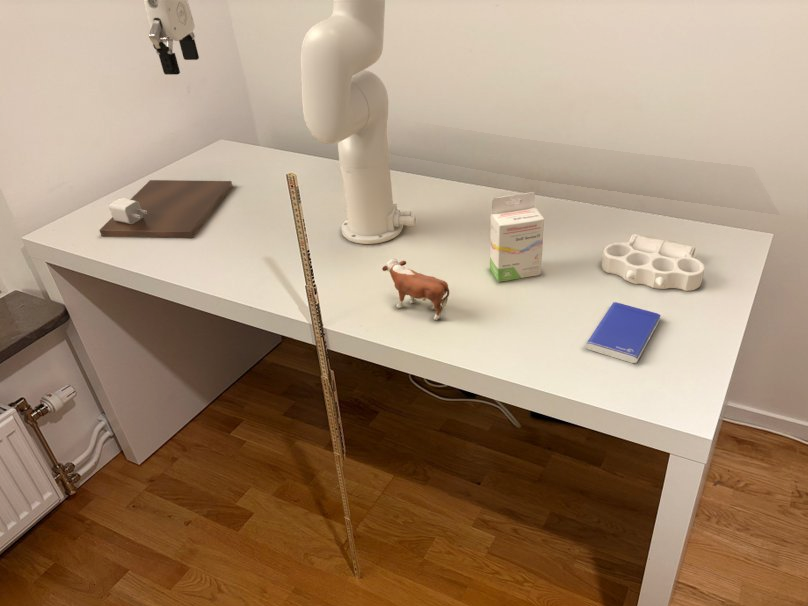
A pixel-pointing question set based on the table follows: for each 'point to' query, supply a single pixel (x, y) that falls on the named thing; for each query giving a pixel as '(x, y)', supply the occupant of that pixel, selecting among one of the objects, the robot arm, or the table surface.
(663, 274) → the white brass knuckles
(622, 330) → the hard drive
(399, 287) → the bull figurine
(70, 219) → the table surface
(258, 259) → the table surface
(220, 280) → the table surface
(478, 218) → the table surface
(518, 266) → the ink box
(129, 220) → the usb wall charger
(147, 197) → the walnut board
